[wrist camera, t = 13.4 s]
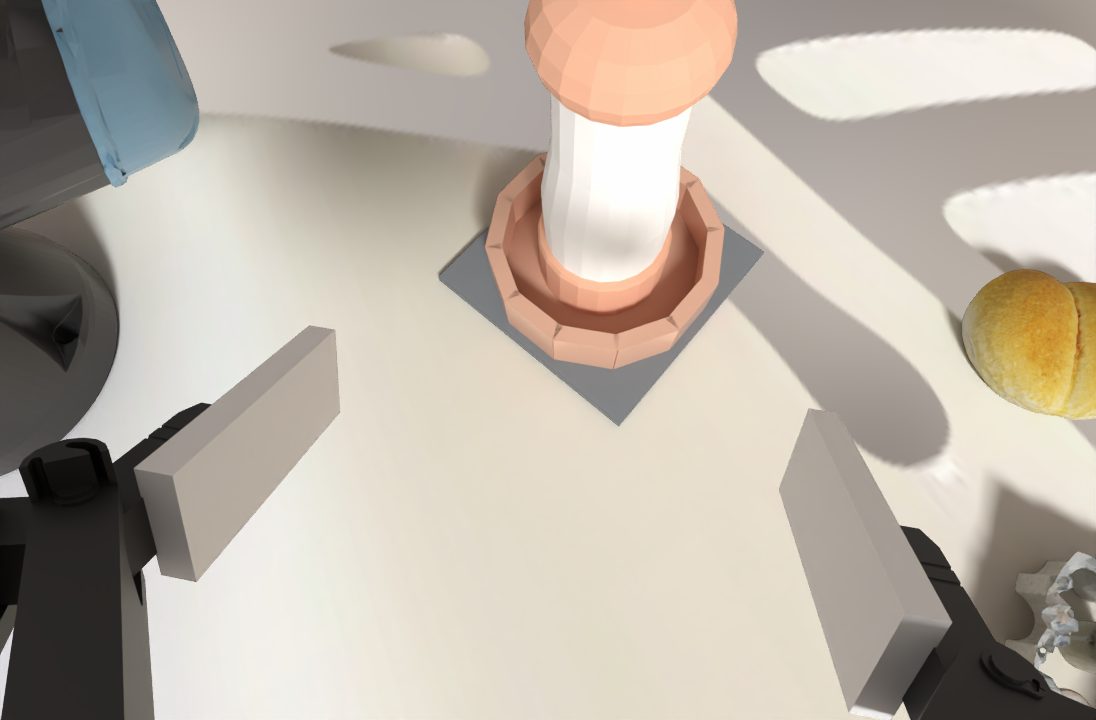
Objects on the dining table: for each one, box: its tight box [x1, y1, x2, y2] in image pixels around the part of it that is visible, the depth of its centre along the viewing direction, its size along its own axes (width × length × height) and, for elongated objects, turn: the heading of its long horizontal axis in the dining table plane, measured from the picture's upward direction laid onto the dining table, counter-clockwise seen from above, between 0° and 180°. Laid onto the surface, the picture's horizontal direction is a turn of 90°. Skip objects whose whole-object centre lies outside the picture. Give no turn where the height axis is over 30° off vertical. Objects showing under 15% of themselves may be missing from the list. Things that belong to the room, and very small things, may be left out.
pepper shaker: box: [525, 0, 737, 316], centre depth 27 cm, size 7×7×19 cm
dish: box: [485, 152, 725, 369], centre depth 35 cm, size 13×13×3 cm
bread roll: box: [962, 270, 1096, 420], centre depth 33 cm, size 8×9×4 cm
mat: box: [439, 223, 764, 426], centre depth 37 cm, size 14×14×1 cm
